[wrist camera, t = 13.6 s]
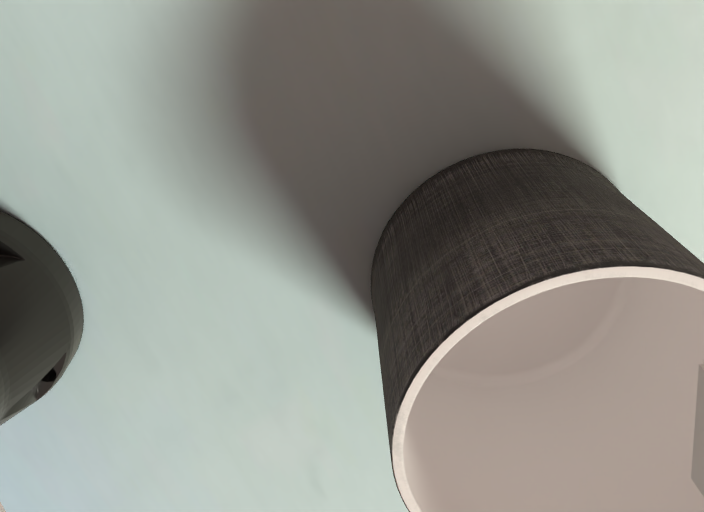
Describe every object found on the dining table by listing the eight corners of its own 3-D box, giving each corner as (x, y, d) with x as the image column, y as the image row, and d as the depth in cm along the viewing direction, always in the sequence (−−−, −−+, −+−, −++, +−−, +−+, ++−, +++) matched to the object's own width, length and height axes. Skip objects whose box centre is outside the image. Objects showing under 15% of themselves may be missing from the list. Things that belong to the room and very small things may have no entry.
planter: (655, 135, 39) (839, 247, 25) (622, 375, 47) (749, 563, 33) (361, 159, 39) (380, 284, 25) (377, 395, 47) (399, 591, 33)
